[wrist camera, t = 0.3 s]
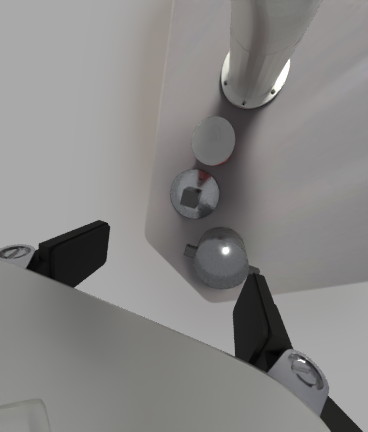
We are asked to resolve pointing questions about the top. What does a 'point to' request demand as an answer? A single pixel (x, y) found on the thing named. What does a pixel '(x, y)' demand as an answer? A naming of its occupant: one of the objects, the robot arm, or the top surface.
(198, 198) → the lid
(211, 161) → the canned food
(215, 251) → the pot
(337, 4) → the top surface
